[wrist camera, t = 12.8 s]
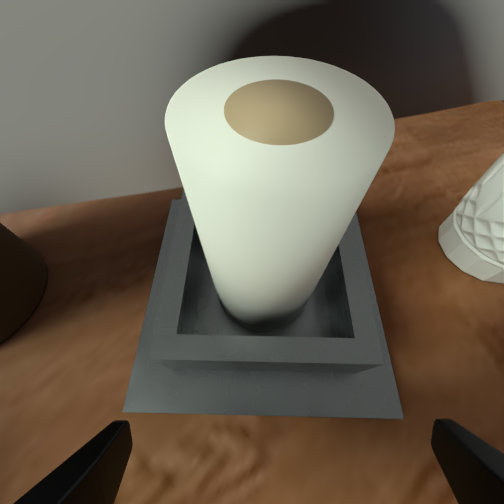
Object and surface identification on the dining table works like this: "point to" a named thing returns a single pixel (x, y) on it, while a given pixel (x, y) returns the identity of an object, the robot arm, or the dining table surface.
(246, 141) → the white paper towel roll
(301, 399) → the square open box
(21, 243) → the olive oil
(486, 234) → the white cup
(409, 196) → the dining table surface
